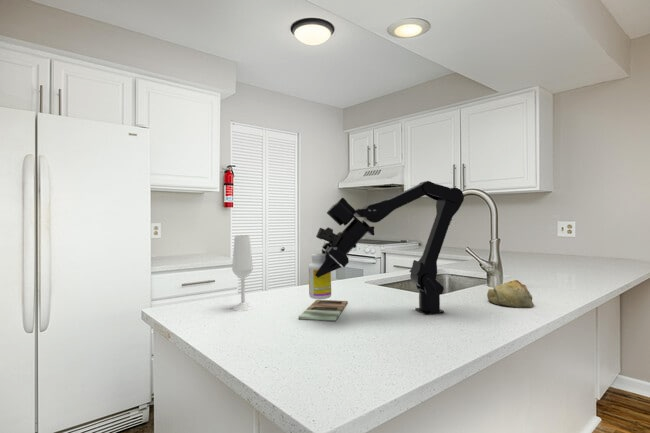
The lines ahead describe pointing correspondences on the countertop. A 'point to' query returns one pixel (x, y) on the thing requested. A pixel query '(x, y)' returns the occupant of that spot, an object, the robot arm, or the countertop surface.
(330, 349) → the countertop surface
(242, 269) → the champagne flute
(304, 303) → the countertop surface
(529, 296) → the pastry
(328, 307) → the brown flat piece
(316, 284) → the supplement bottle
